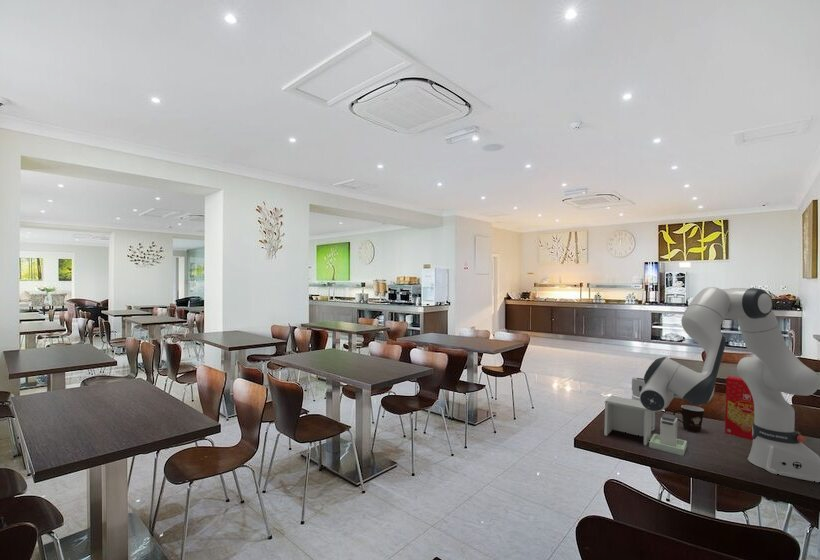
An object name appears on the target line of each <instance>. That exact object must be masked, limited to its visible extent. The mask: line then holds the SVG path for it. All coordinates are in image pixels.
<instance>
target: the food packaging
mask: <svg viewBox="0 0 820 560" xmlns="http://www.w3.org/2000/svg"><path fill="white" fill-rule="evenodd" d="M725 382H726V384H725V417H724V418H725V419H724V434H725V433H726V434H727V435H729V434H731V435H730V436H733V435H735V436H734V437H738V438H743V439H745V440H750V441H753V436H752V426H753V423H754V401H753V397H752V395H751V392H750V390H749V388H748V386H747V384H746V383H745V382H744V381H743V379H741V378H740V377H738V376H737V377H736V376H731V375H729V376H727V377H726V381H725Z"/></svg>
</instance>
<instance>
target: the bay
mask: <svg viewBox="0 0 820 560" xmlns="http://www.w3.org/2000/svg"><path fill="white" fill-rule="evenodd" d="M651 424H652V411H650V410H648V409H646V408H645V407H644V406H643V405H642V404H641V402H640V401H639V400H633V399H632V398H626V397H622V396H616V395H610V396H609V397H608V398H607V399H605V400H604V432H603V433H604V434H603V435H604V436H606V437H607V436H608V435H609V434H610V433H611V432H612V431H617V432H622V433H625V432H626V433H627V434H629V435H630V434H631V435H634V436H638V435H639V437H642V436H643V445H644V446H647V445H649V440H650V439H651V438H652V431H651Z"/></svg>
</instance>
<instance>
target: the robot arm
mask: <svg viewBox="0 0 820 560" xmlns="http://www.w3.org/2000/svg"><path fill="white" fill-rule="evenodd" d="M773 306H774V302H773V298H772V296H771V295H770V293H768V292H767V291H766V290H764V289H761V288H758V287H757V288H755V287H750V288H745V287H736V288H735V287H731V288H724V289H722V288H719V287H715V286H711V287H709V286H708V287H706V288H703V289H702V290H700V291H699V292H698V293H697V294H696V295H695V296H694V298H693V299H692V300H691V301H690V303H689V304H688V306H687V307H686V309H685V310H684V312H683V314H682V318H681V320H680V321H681V326H682V329H683V330H684V332H685V333H686V334H687V335H688V336H689V338H691V339H692V340H693V341H694V342H696V343H697V344H698V345H699V346H700V347H701V348H702V349H703V351H704V352H705V360H704V363H703V366H702V370H701V372H697V371H695V370H694V369H691V368H689V367H687V366H685V365H682V364H681V363H680V362H678V361H675V360H673V359H671V358H669V357H667V356H662V357H659V358H656V359H655V360H654V361H653V362H652V363H651V364H650V365H649V366H648V368H647V369H646V371H645V374H644V376H643V378H641V377H632V378H631V391H632V394H633V395H634V396H637V397H640V402H641V404H642V405H643V406H644V407H645V408H646V409H648V410H650V411H654V412H655V413H656V412H661V411H664V410H665V409H666V408H668V407H669V406H670V404H671V402H672V401H673V399H674V398H675V399H681V400H684V401H686V402H688V403H689V404H690V405H691V406H703V405H707V404H708V403H709V402H710V401H711V400H712V399H713V397H714V394H715V390H716V389H715V388H716V381H717V377H718V373H719V370H720V367H721V364H722V359H723V356H724V352H725V346H726V337H725V336H724V335H723V333H722V330H721V327H722V324H723V322H724V320H727V319H728V320H737V323H738V327H739V329H740V333H741V336H742V339H743V341H744V344H745V347H746V349H747V350H748V351H749V352H750V353H751V354H753V355H754V356H746V357H742V358H741V359H740V360H739V361H738V363H737V365H736V372H737V375H738V376H739V378H741V379H743V381H744V382H745V383H746V384H747V386H748V388H749V390H750V392H751V395H752V397H753V401H754V423H753V426H752V436H753V440H752V444H751V448H750V452H749V454H748V457H747V461H748V462H750V463H751V464H753V465H754V466H757V467H758V468H760V469H764V470H766V471H767V472H769V473H771V474H773V475H777V474H779V475H778V476H782V477H789V478H794V479H798V480H805V481H809V482H814V481H815V482H814V483H819V482H820V456H819V455H818V454H817V453H816V452H814V451H813V450H812V449H811V448H809V447H808V446H807V445H805V444H804V442H805V441H806V438H805V436H803V435H802V433H800V432H799V431H796V430H795V421H796V420H795V419H796V417H795V414H796V413H795V412H796V411H795V408H794V407H793V406H792V405H791V404H790V403H789V402H788V401H787V400H786V399H785V397H784V396H783V394H782V393H784V394H788V395H792V396H793V395H794V396H802V397H803V396H806V397H808V396H811V395H813V394H814V393H816V392H817V390H818V389H819V387H820V379H819V376H818V374H817V372H815V370H813V369H811V368H810V367H808V366H807V365H805V364H804V363H803V362H802V361H801V360H800V359H799V358H798V357H797V356H796V355H795V353H794V352H793V351H792V350H791V349H790V347H789V345H788V344H787V342H786V341H785V338H784V336H783V334H782V333H783V332H782V330H781V328H780V325H779V322H778V319H777V317H776V314H775V312H774V311H773Z"/></svg>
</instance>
